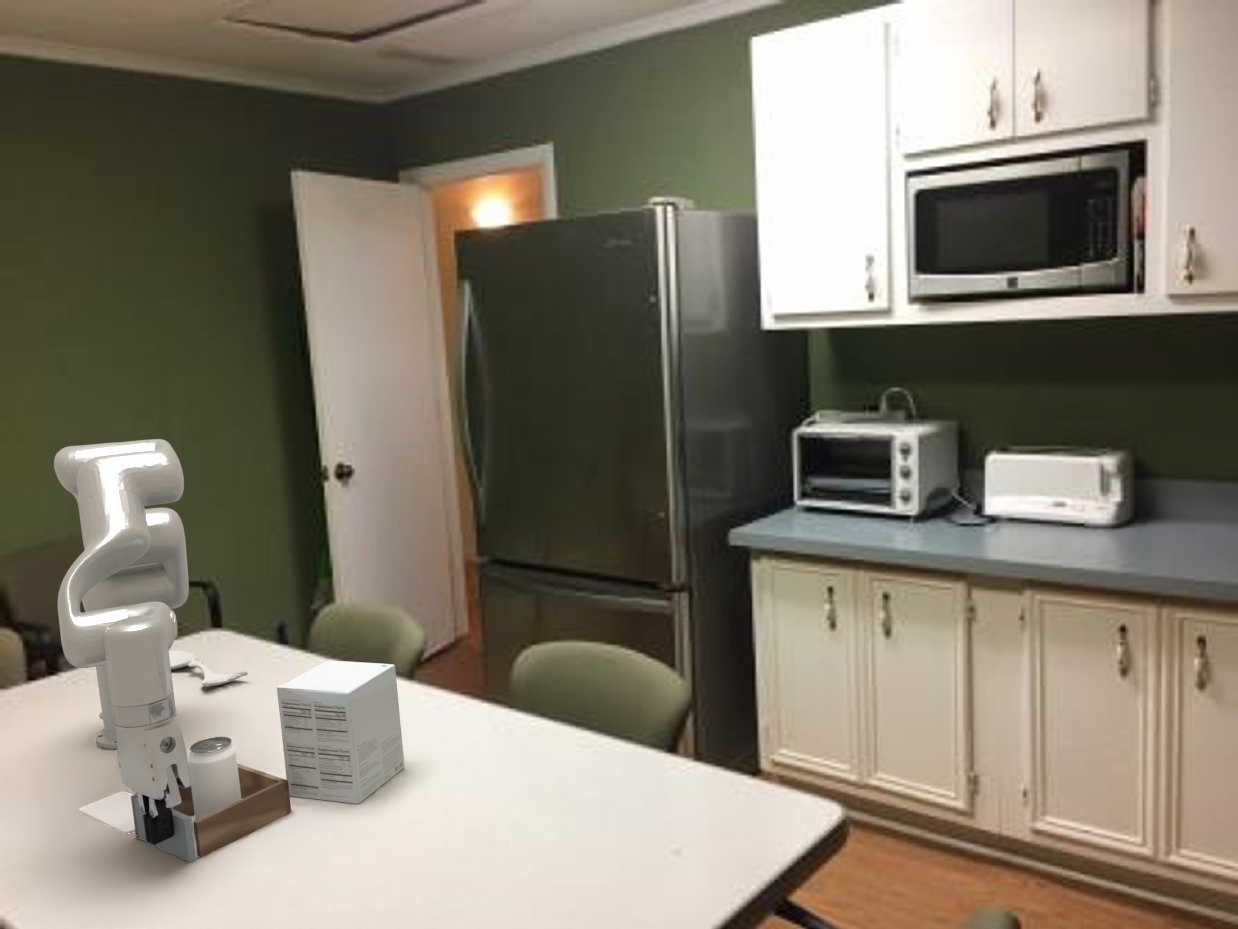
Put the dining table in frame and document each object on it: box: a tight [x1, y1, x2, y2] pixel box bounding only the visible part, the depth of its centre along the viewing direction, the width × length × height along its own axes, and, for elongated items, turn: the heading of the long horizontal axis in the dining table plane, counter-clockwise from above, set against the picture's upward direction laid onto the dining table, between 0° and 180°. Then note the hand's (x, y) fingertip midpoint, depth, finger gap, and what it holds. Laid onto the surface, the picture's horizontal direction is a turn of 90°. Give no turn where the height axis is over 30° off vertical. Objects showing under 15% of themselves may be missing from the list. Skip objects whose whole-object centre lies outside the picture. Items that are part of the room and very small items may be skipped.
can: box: [187, 736, 242, 821], centre depth 149 cm, size 6×6×12 cm
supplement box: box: [276, 659, 406, 805], centre depth 160 cm, size 13×13×18 cm
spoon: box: [169, 649, 249, 688], centre depth 218 cm, size 9×32×4 cm, turn 46°
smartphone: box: [78, 791, 135, 835], centre depth 155 cm, size 7×1×15 cm
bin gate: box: [131, 793, 197, 863], centre depth 142 cm, size 14×1×6 cm, turn 54°
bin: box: [173, 763, 292, 858], centre depth 149 cm, size 14×15×5 cm
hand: (160, 838), depth 139 cm, fingers closed
